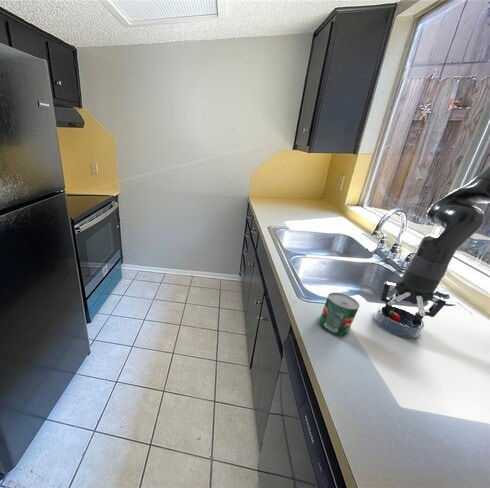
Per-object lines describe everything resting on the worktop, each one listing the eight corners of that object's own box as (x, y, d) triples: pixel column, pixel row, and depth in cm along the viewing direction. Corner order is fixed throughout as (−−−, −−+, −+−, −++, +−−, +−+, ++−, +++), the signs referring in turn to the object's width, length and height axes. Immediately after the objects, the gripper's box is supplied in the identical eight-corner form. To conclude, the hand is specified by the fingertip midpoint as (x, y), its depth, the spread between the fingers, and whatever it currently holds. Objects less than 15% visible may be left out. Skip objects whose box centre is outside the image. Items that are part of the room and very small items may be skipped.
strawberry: (400, 319, 83) (395, 308, 82) (404, 326, 80) (398, 314, 79) (386, 321, 85) (381, 310, 84) (389, 328, 82) (384, 316, 81)
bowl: (414, 327, 82) (422, 314, 80) (418, 347, 74) (426, 333, 72) (373, 312, 88) (379, 300, 86) (372, 329, 80) (378, 316, 78)
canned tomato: (315, 317, 84) (326, 289, 80) (343, 324, 82) (355, 296, 77) (319, 333, 78) (330, 304, 73) (349, 342, 75) (363, 312, 71)
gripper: (457, 275, 72) (428, 322, 79) (391, 259, 79) (371, 303, 86) (463, 286, 66) (432, 336, 73) (392, 267, 74) (370, 314, 81)
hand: (399, 318), depth 80 cm, fingers open, 6 cm apart
